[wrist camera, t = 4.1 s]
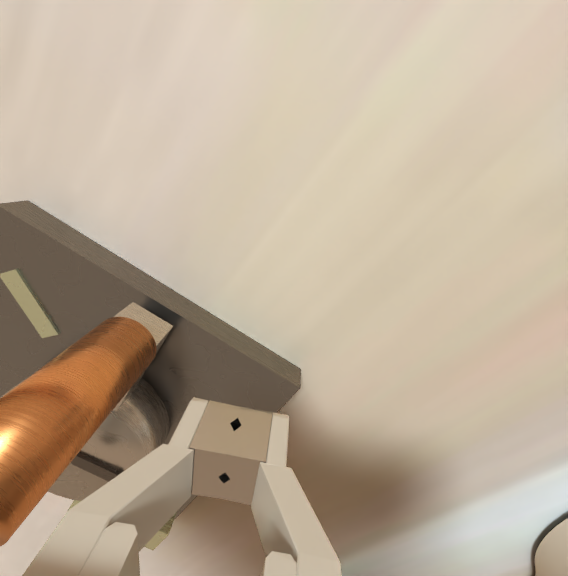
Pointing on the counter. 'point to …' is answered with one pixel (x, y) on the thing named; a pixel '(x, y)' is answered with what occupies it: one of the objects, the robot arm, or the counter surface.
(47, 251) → the plate
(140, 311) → the copper silver knob
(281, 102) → the counter surface
